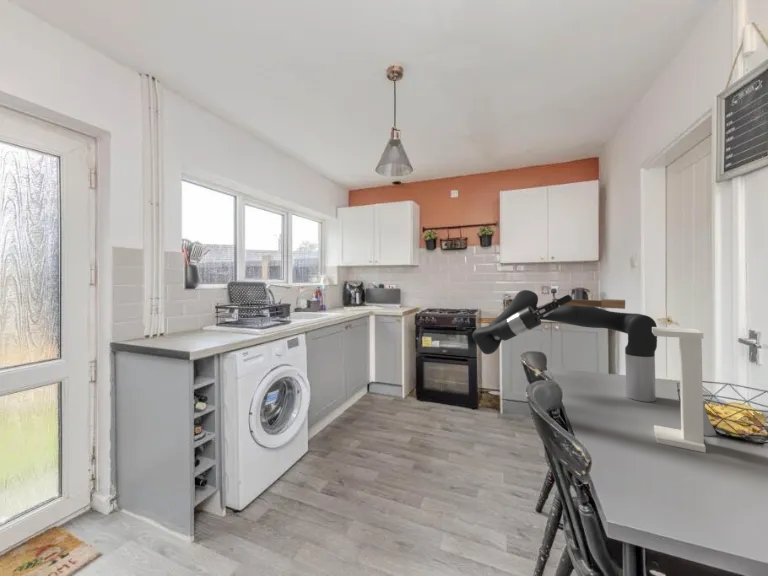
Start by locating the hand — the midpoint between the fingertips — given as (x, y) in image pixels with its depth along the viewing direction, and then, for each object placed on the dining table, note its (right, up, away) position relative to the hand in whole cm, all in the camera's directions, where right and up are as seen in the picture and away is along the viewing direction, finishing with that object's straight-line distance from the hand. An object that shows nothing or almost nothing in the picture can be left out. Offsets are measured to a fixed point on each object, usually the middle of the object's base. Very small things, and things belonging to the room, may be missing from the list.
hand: (570, 297), depth 109 cm
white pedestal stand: (+22, -41, -16) cm, 49 cm away
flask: (+34, -41, -10) cm, 54 cm away
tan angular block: (+5, -3, -3) cm, 6 cm away
